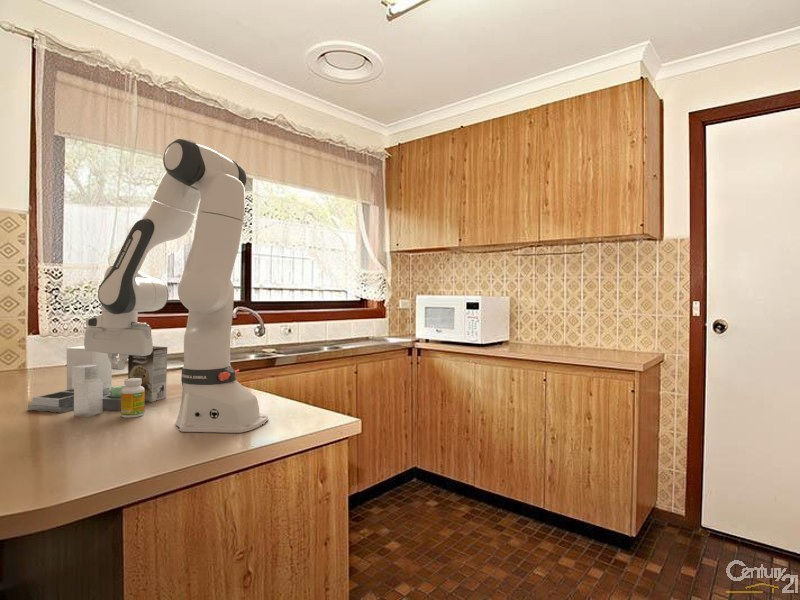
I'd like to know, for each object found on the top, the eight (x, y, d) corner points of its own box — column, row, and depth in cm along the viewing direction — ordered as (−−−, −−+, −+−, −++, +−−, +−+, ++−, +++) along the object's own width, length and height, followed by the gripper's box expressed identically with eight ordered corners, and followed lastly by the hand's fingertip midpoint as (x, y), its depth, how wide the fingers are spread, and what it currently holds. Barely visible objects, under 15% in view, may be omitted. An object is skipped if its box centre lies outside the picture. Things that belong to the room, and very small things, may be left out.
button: (129, 396, 133) (130, 386, 133) (118, 399, 129) (119, 389, 129) (118, 395, 133) (118, 385, 133) (106, 398, 129) (106, 388, 129)
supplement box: (112, 390, 151) (113, 345, 151) (91, 396, 142) (92, 348, 142) (87, 389, 152) (88, 344, 152) (65, 395, 143) (65, 347, 143)
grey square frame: (141, 403, 134) (141, 393, 134) (119, 410, 126) (119, 399, 126) (117, 402, 136) (117, 392, 136) (94, 408, 128) (94, 398, 128)
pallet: (112, 398, 140) (113, 364, 139) (61, 412, 123) (61, 374, 123) (82, 396, 142) (82, 362, 142) (28, 410, 125) (28, 371, 125)
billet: (102, 412, 124) (102, 379, 124) (88, 417, 120) (88, 382, 120) (88, 411, 125) (88, 378, 125) (73, 415, 121) (74, 381, 121)
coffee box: (126, 400, 139) (126, 347, 138) (143, 395, 145) (143, 344, 145) (151, 402, 136) (152, 348, 136) (167, 397, 143) (168, 346, 142)
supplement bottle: (133, 418, 119) (134, 381, 119) (115, 417, 120) (116, 380, 120) (148, 413, 124) (149, 378, 124) (131, 412, 125) (132, 376, 125)
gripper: (159, 322, 132) (157, 370, 132) (99, 318, 136) (97, 365, 136) (142, 323, 126) (140, 373, 126) (80, 319, 130) (78, 368, 130)
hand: (117, 369), depth 131 cm, fingers closed
